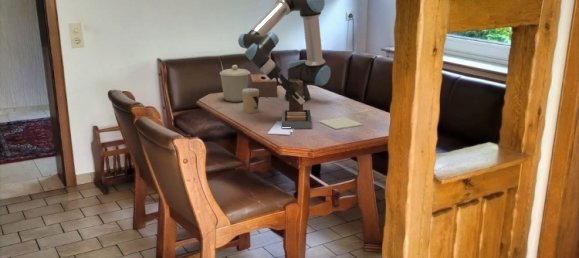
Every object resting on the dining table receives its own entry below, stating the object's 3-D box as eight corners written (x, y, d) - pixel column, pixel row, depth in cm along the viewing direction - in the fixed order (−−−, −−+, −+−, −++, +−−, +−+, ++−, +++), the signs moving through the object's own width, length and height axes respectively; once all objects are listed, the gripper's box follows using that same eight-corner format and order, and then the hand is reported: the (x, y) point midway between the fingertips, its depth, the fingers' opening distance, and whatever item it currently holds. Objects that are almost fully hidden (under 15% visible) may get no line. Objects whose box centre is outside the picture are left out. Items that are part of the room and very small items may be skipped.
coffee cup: (257, 113, 301) (256, 92, 297) (240, 113, 302) (239, 91, 299) (261, 109, 309) (261, 88, 306) (245, 109, 311) (244, 87, 308)
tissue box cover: (277, 97, 339) (277, 81, 336) (253, 98, 337) (252, 82, 335) (272, 89, 364) (272, 73, 361) (250, 89, 362) (250, 74, 359)
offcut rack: (282, 116, 296) (282, 109, 295) (309, 116, 296) (310, 109, 295) (281, 128, 273) (281, 121, 272) (311, 128, 273) (311, 121, 272)
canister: (239, 95, 344) (238, 61, 339) (257, 100, 331) (256, 65, 325) (214, 99, 333) (213, 64, 327) (232, 105, 320) (231, 68, 314)
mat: (344, 118, 292) (344, 117, 292) (362, 125, 279) (362, 124, 279) (318, 122, 284) (318, 121, 284) (336, 129, 271) (336, 128, 271)
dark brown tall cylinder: (288, 116, 292) (288, 78, 287) (302, 115, 293) (302, 78, 287) (289, 120, 285) (289, 81, 279) (303, 119, 286) (304, 81, 280)
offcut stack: (287, 124, 281) (287, 111, 279) (305, 124, 281) (305, 112, 279) (287, 126, 277) (287, 114, 275) (305, 126, 277) (305, 114, 275)
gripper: (266, 71, 292) (297, 101, 297) (264, 78, 273) (297, 110, 278) (276, 61, 291) (307, 91, 295) (275, 67, 272) (308, 100, 276)
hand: (302, 100), depth 286 cm, fingers closed on dark brown tall cylinder, 7 cm apart
